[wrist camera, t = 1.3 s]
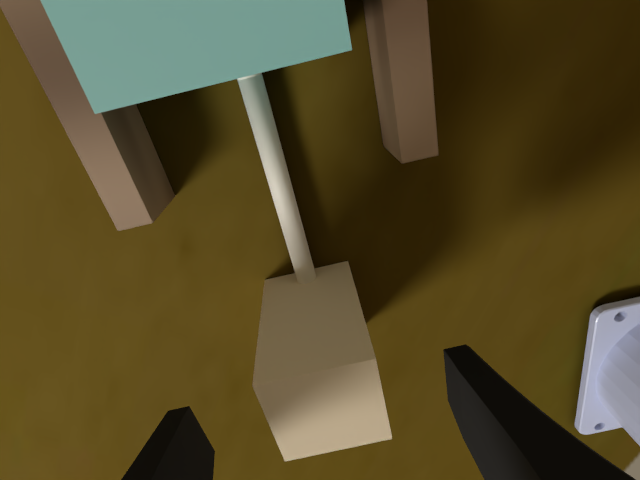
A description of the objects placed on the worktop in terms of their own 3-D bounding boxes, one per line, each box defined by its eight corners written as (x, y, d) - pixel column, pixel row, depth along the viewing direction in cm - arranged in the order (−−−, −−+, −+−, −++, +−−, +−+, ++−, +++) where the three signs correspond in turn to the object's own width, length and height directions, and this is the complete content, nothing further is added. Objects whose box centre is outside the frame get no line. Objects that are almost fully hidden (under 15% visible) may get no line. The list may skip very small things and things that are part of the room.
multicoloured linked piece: (92, -135, 9) (-127, -350, 4) (280, -186, 8) (268, -468, 4) (271, 346, 15) (263, 466, 11) (377, 322, 15) (414, 433, 11)
